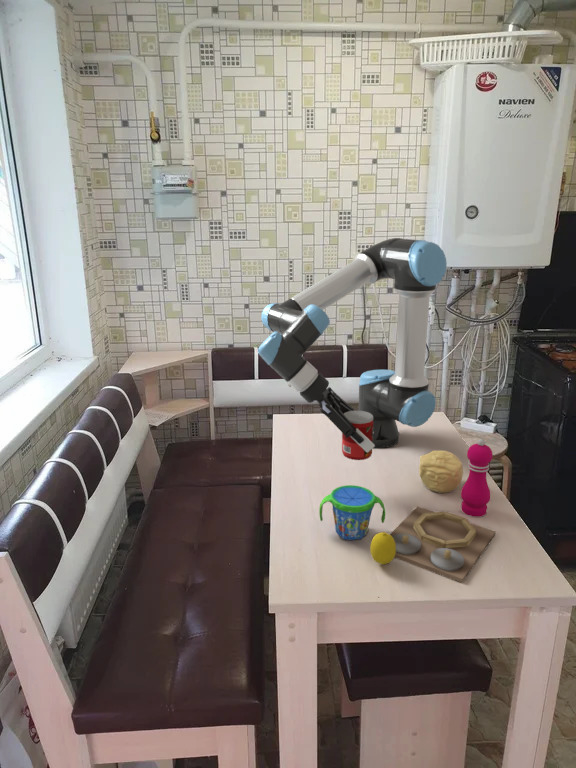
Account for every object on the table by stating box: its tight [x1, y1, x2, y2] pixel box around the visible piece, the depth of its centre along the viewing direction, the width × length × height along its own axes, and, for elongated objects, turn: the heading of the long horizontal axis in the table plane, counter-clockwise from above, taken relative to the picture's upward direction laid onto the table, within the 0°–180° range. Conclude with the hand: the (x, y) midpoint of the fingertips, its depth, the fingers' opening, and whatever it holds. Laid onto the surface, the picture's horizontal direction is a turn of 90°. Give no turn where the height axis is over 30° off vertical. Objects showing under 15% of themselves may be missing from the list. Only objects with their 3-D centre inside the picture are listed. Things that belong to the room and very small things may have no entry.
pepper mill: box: [460, 438, 494, 518], centre depth 148 cm, size 7×7×20 cm
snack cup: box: [318, 484, 386, 541], centre depth 141 cm, size 16×10×10 cm
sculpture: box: [418, 450, 464, 494], centre depth 162 cm, size 11×12×11 cm
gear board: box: [389, 506, 497, 584], centre depth 138 cm, size 22×20×4 cm
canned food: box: [341, 410, 373, 461], centre depth 155 cm, size 8×8×11 cm
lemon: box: [369, 531, 396, 566], centre depth 129 cm, size 6×6×8 cm
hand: (370, 442), depth 155 cm, fingers closed on canned food, 8 cm apart
